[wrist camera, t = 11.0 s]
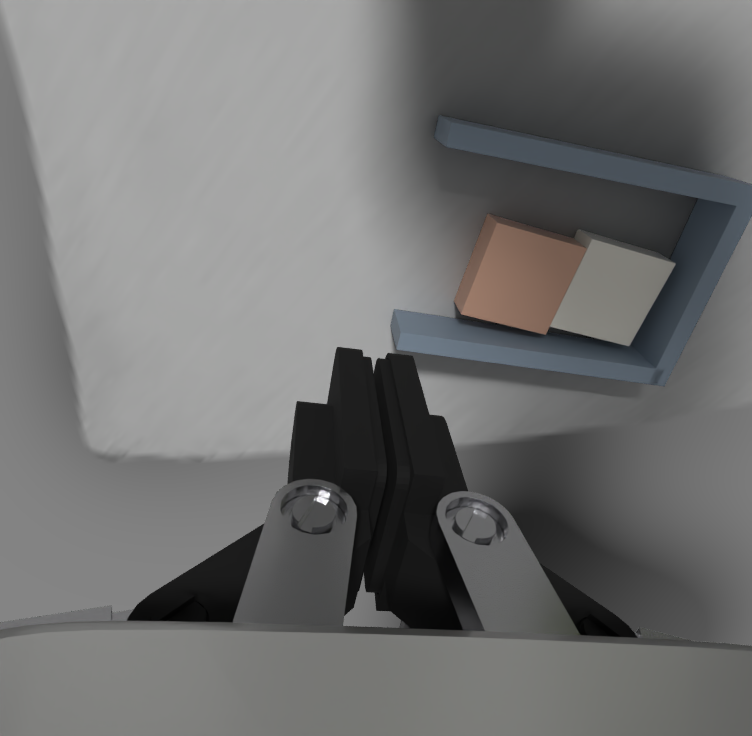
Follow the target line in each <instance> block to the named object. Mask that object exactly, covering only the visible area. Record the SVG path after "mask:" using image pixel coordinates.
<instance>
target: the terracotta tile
mask: <svg viewBox="0 0 752 736" xmlns="http://www.w3.org/2000/svg"><path fill="white" fill-rule="evenodd" d="M586 250H587V248H586V247H584V246H583V245H582V244H580V243H579V242H578V241H576V240H575V239H574V238H571V237H567V236H564V235H561V234H557V233H554V232H550V231H547V230H543V229H540V228H536V227H533V226H529V225H526V224H523V223H519V222H516V221H512V220H509V219H505V218H502V217H498V216H495V215H491V214H488V213H487V216H486V219H485V221H484V224H483V226H482V229H481V232H480V234H479V237H478V239H477V242H476V245H475V247H474V250H473V252H472V255H471V258H470V260H469V263H468V265H467V268H466V271H465V273H464V276H463V278H462V281H461V284H460V286H459V289H458V292H457V294H456V297H455V299H454V302H455V304H456V306H457V308H458V309H459V311H460V313H461V314H462V315H466V316H470V317H475V318H479V319H483V320H487V321H491V322H495V323H499V324H503V325H507V326H511V327H516V328H520V329H524V330H528V331H532V332H536V333H540V334H544V335H546V333H547V331H548V329H549V327H550V325H551V323H552V320H553V318H554V316H555V314H556V312H557V310H558V308H559V306H560V304H561V302H562V300H563V298H564V295H565V293H566V291H567V289H568V287H569V285H570V283H571V281H572V279H573V277H574V275H575V273H576V270H577V268H578V266H579V264H580V262H581V260H582V258H583V256H584V254H585V252H586Z"/></svg>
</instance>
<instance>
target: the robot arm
mask: <svg viewBox="0 0 752 736" xmlns="http://www.w3.org/2000/svg"><path fill="white" fill-rule="evenodd" d="M363 573H364V578H365V589H366V592H374V593H375V601H376V610H377V611H391V612H392V613H393V614H395V615H396V616H397V617H398V618H399V619H401V624H400V628H382V627H354V626H343V620H344V616H345V615H346V614H347V613H348V612H349V611H350V610H351V609H353V608H354V604H355V600H356V596H357V592H358V591H359V588H360V585H361V581H362V577H363ZM0 736H752V646H748V645H738V644H729V643H716V642H700V641H691V640H688V639H684V638H680V637H676V636H672V635H668V634H664V633H660V632H656V631H652V630H649V629H645V628H641V627H639V629H638V630H637V631H636V633H634V632H633V631H632V630H631V628H630V627H629V626H628V625H627V624H626V623H624V622H623V621H622V620H621V619H620V618H619V617H617V616H616V615H615V614H613V613H612V612H610V611H609V610H607V609H606V608H605V607H603V606H602V605H600V604H598V603H597V602H596V601H594V600H593V599H591V598H590V597H588V596H587V595H585V594H584V593H582V592H581V591H580V590H578V589H577V588H575V587H574V586H572V585H571V584H569V583H568V582H566V581H565V580H564V579H562V578H561V577H559V576H558V575H556V574H555V573H553V572H552V571H550V570H549V569H547V568H546V567H545V566H543V565H542V564H540V563H539V562H538V560H537V559H536V557H535V555H534V553H533V552H532V550H531V548H530V547H529V545H528V543H527V541H526V539H525V538H524V536H523V534H522V532H521V531H520V529H519V527H518V526H517V524H516V522H515V520H514V519H513V517H512V516H511V515H510V513H509V512H508V511H507V509H505V508H504V507H503V506H502V505H501V504H499V503H498V502H497V501H495V500H493V499H491V498H489V497H487V496H485V495H482V494H478V493H475V492H468V489H467V486H466V483H465V480H464V477H463V474H462V470H461V467H460V464H459V461H458V458H457V455H456V451H455V448H454V445H453V442H452V439H451V436H450V433H449V429H448V426H447V423H446V421H445V418H444V417H442V416H437V415H429V412H428V408H427V405H426V401H425V398H424V394H423V390H422V387H421V383H420V380H419V376H418V372H417V369H416V365H415V362H414V358H413V356H409V355H401V354H392V353H388V354H387V355H386V358H385V359H380V358H378V359H377V361H376V365H375V369H374V374H373V367H372V360H371V357H363V352H362V350H359V349H350V348H342V347H337V349H336V353H335V359H334V365H333V371H332V377H331V383H330V389H329V395H328V401H327V404H319V403H310V402H300V401H297V404H296V410H295V417H294V425H293V433H292V441H291V450H290V460H289V472H288V484H287V485H285V486H283V487H282V488H281V489H280V490H279V491H277V493H276V494H275V496H274V498H273V499H272V502H271V505H270V508H269V511H268V514H267V517H266V520H265V523H264V524H263V525H261V526H259V527H258V528H256V529H255V530H253V531H251V532H250V533H248V534H246V535H245V536H243V537H242V538H240V539H238V540H237V541H235V542H234V543H232V544H230V545H229V546H227V547H226V548H224V549H222V550H221V551H219V552H217V553H216V554H214V555H213V556H211V557H209V558H208V559H206V560H205V561H203V562H201V563H200V564H198V565H197V566H195V567H193V568H192V569H190V570H188V571H187V572H185V573H184V574H182V575H180V576H179V577H177V578H176V579H174V580H172V581H171V582H169V583H167V584H166V585H164V586H163V587H161V588H159V589H158V590H156V591H155V592H153V593H151V594H150V595H149V596H147V597H146V598H145V599H144V600H143V601H141V602H140V603H139V604H138V605H137V606H136V607H135V609H132V610H126V611H119V612H114V613H112V606H104V607H97V608H91V609H84V610H78V611H71V612H65V613H58V614H52V615H45V616H39V617H32V618H25V619H19V620H13V621H6V622H0Z"/></svg>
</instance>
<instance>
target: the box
mask: <svg viewBox="0 0 752 736" xmlns="http://www.w3.org/2000/svg"><path fill="white" fill-rule="evenodd" d="M434 138H435V139H436V140H438V141H439V142H440V143H441V144H443V145H444V146H445V147H449V148H454V149H459V150H464V151H469V152H474V153H479V154H483V155H488V156H493V157H498V158H503V159H508V160H513V161H518V162H523V163H528V164H533V165H538V166H543V167H547V168H552V169H557V170H562V171H567V172H572V173H577V174H582V175H587V176H592V177H597V178H602V179H607V180H611V181H616V182H621V183H626V184H631V185H636V186H641V187H646V188H651V189H656V190H661V191H666V192H670V193H675V194H680V195H685V196H690V197H695V198H698V200H697V202H696V204H695V206H694V208H693V210H692V213H691V215H690V217H689V219H688V221H687V224H686V226H685V228H684V230H683V232H682V234H681V237H680V239H679V241H678V243H677V245H676V247H675V250H674V252H673V254H672V256H671V258H670V260H671V261H673V262H674V263H676V265H675V266H674V268H673V270H672V272H671V273H670V275H669V277H668V279H667V281H666V282H665V284H664V286H663V288H662V289H661V291H660V293H659V295H658V296H657V298H656V300H655V302H654V303H653V305H652V307H651V309H650V310H649V312H648V314H647V316H646V317H645V319H644V321H643V323H642V325H641V326H640V328H639V330H638V332H637V333H636V335H635V337H634V339H633V341H632V343H631V345H630V346H626V345H622V344H618V343H614V342H610V341H603V340H596V339H590V338H583V337H576V336H570V335H563V334H556V333H550V332H547V333H546V335H544V334H540V333H536V332H532V331H528V330H524V329H520V328H516V327H509V326H503V325H496V324H489V323H483V322H476V321H469V320H463V319H456V318H449V317H442V316H436V315H429V314H422V313H416V312H409V311H402V310H396V309H394V312H393V317H392V321H391V325H390V326H391V330H392V334H393V337H394V341H395V345H396V349H397V350H403V351H410V352H417V353H425V354H432V355H439V356H447V357H454V358H461V359H468V360H476V361H483V362H490V363H498V364H505V365H512V366H520V367H527V368H534V369H542V370H549V371H556V372H563V373H571V374H578V375H585V376H593V377H600V378H607V379H615V380H622V381H629V382H637V383H644V384H651V385H658V386H665V384H666V382H667V380H668V378H669V376H670V374H671V372H672V370H673V368H674V366H675V364H676V363H677V361H678V359H679V357H680V355H681V353H682V351H683V349H684V347H685V345H686V343H687V341H688V339H689V337H690V335H691V333H692V331H693V329H694V327H695V325H696V324H697V322H698V320H699V318H700V316H701V314H702V312H703V310H704V308H705V306H706V304H707V302H708V300H709V298H710V296H711V294H712V292H713V290H714V288H715V286H716V285H717V283H718V281H719V279H720V277H721V275H722V273H723V271H724V269H725V267H726V265H727V263H728V261H729V259H730V257H731V255H732V253H733V251H734V249H735V247H736V245H737V244H738V242H739V240H740V238H741V236H742V234H743V232H744V230H745V228H746V226H747V224H748V222H749V220H750V218H751V216H752V184H750V183H746V182H743V181H740V180H737V179H734V178H731V177H727V176H723V175H718V174H714V173H709V172H704V171H699V170H695V169H690V168H685V167H681V166H676V165H671V164H667V163H662V162H657V161H652V160H648V159H643V158H638V157H634V156H629V155H624V154H620V153H615V152H610V151H606V150H601V149H596V148H591V147H587V146H582V145H577V144H573V143H568V142H563V141H559V140H554V139H549V138H544V137H540V136H535V135H530V134H526V133H521V132H516V131H512V130H507V129H502V128H497V127H493V126H488V125H483V124H479V123H474V122H469V121H465V120H460V119H455V118H450V117H446V116H441V115H439V117H438V121H437V125H436V130H435V134H434Z"/></svg>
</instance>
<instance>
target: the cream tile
mask: <svg viewBox="0 0 752 736" xmlns="http://www.w3.org/2000/svg"><path fill="white" fill-rule="evenodd" d="M574 239H575V240H576V241H578V242H579V243H580V244H582V245H583V246H584V247H586V248H587V250H586V252H585V254H584V256H583V258H582V260H581V262H580V264H579V266H578V268H577V270H576V273H575V275H574V277H573V279H572V281H571V283H570V285H569V287H568V289H567V291H566V293H565V295H564V298H563V300H562V302H561V304H560V306H559V308H558V310H557V312H556V314H555V316H554V318H553V320H552V323H551V325H550V327H554V328H558V329H562V330H566V331H570V332H574V333H578V334H582V335H586V336H590V337H594V338H598V339H602V340H606V341H610V342H614V343H618V344H622V345H626V346H630V344H631V342H632V340H633V339H634V337H635V335H636V333H637V332H638V330H639V328H640V326H641V325H642V323H643V321H644V319H645V317H646V316H647V314H648V312H649V310H650V309H651V307H652V305H653V303H654V302H655V300H656V298H657V296H658V295H659V293H660V291H661V289H662V288H663V286H664V284H665V282H666V281H667V279H668V277H669V275H670V273H671V272H672V270H673V268H674V266H675V265H676V263H674V262H673V261H671V260H669V259H668V258H666V257H665V256H663V255H661V254H660V253H658V252H654V251H651V250H648V249H644V248H641V247H638V246H634V245H631V244H627V243H624V242H621V241H617V240H614V239H611V238H607V237H604V236H600V235H597V234H594V233H590V232H587V231H584V230H580V229H578V230H577V232H576V234H575V236H574Z"/></svg>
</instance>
